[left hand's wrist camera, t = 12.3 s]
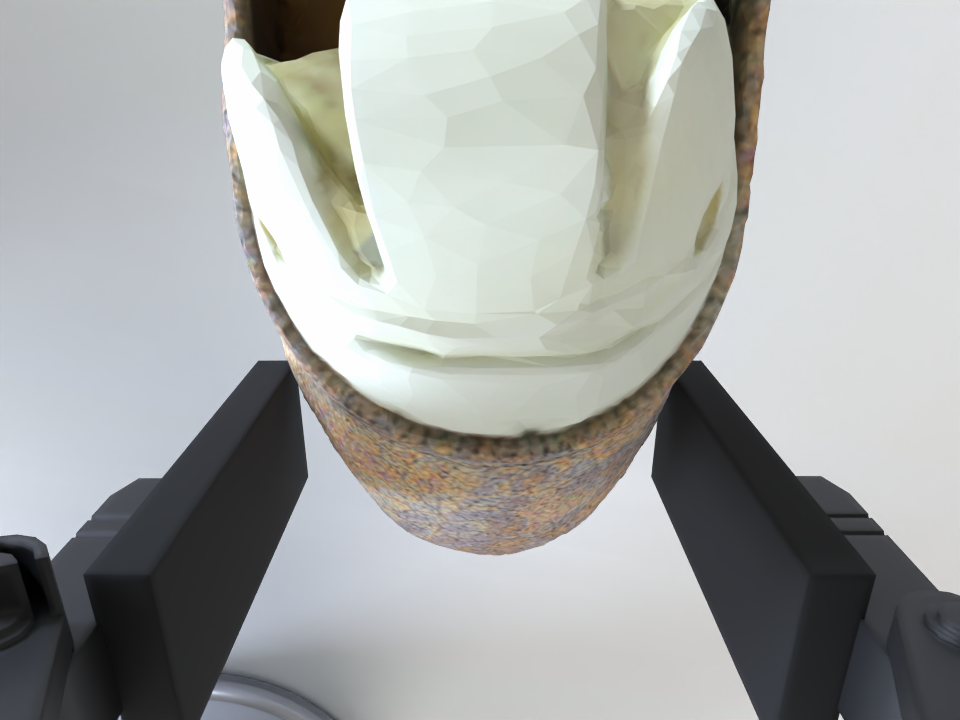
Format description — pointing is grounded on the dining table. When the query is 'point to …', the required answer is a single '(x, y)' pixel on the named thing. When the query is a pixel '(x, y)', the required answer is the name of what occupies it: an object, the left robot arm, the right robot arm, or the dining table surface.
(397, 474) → the speckled felt slipper
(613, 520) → the dining table surface
